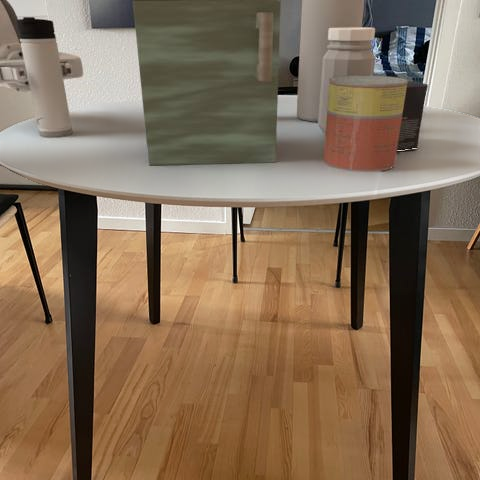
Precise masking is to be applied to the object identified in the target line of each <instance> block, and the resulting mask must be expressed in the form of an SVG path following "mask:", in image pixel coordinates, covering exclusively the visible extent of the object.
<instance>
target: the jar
mask: <svg viewBox="0 0 480 480" xmlns="http://www.w3.org/2000/svg"><path fill="white" fill-rule="evenodd" d="M375 33H376V28H375V27H363V26H362V27H347V28H329V31H328V40H330V45H328V46H327V48H328V49H329V50H328V51H327V52H326V54H325V55H324V56H323V62H322V76H321V90H320V104H319V118H318V122H317V125H318V127H319V129H320V130H321V132H322V133H325V134H326V122H327V110H328V98H329V85H330V82H329V79H330V78H333V77H340V76H375V75H374V74H375V67H376V60H377V59H376V56H375V54H374V52H373V51H372V49H373V48H374V45H373V44H372V41H374V40H375V36H376V35H375Z"/></svg>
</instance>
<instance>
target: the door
mask: <svg viewBox="0 0 480 480" xmlns="http://www.w3.org/2000/svg"><path fill="white" fill-rule="evenodd" d="M281 3H282V1H281V0H255V1H133V0H132V8H133V17H134V18H133V19H134V28H135V38H136V48H137V49H136V50H137V57H138V68H139V69H138V70H139V78H140V79H139V80H140V88H141V90H140V91H141V98H142V99H141V100H142V110H143V117H144V128H145V140H146V149H147V159H148V166H179V165H180V166H181V165H214V164H215V165H216V164H217V165H218V164H219V165H220V164H221V165H222V164H257V163H261V164H263V163H276V162H277V161H276V160H277V159H276V158H277V134H278V133H277V130H278V101H279V99H278V96H279V68H280V67H279V65H280V62H279V61H280V35H281V33H280V31H281V5H282V4H281Z"/></svg>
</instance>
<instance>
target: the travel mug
mask: <svg viewBox="0 0 480 480" xmlns="http://www.w3.org/2000/svg"><path fill="white" fill-rule="evenodd" d="M16 22H17V27H18V31H19V33H20V35H19V36H20V42H21V47H22V52H23V57H24V62H25V67H26V72H27V76H28V81H29V86H30V91H29V92H30V95H31V99H32V105H33V109H34V115H35V120H36V125H37V127H38V128H37V129H38V134H39V136H40V137H41V138H63V137H62V136H64V137H68V136H71V135H72V134H73V128H72V122H71V115H70V111H69V103H68V98H67V93H66V88H65V81H64V80H63V75H62V69H61V63H60V58H59V46H58V42H57V36H56V34H55V32H56V31H55V25H54V21H53V20H50V19H43V18H42V19H41V18H35V17H34V16H23V17H22V18H18V20H16ZM67 135H68V136H67Z"/></svg>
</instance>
